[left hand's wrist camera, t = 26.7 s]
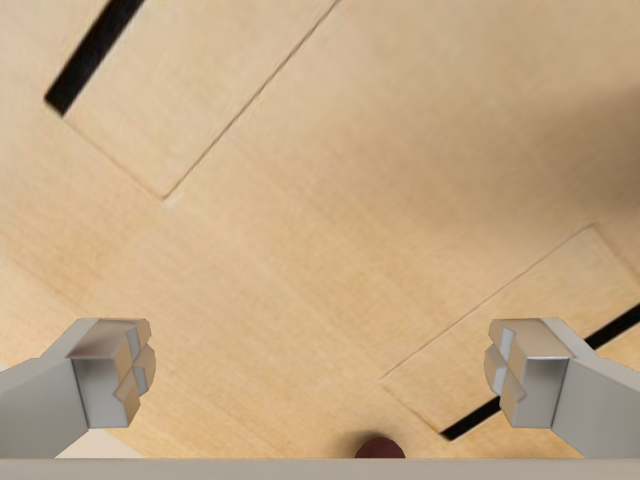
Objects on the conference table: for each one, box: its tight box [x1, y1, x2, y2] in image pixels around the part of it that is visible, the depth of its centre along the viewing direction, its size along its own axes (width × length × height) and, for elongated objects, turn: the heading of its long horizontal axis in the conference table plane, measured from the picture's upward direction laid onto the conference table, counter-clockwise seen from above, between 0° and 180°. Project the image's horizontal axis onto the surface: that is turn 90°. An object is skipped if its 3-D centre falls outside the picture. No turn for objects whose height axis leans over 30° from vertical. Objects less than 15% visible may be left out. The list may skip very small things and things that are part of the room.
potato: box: [355, 438, 406, 459], centre depth 58 cm, size 7×8×7 cm
